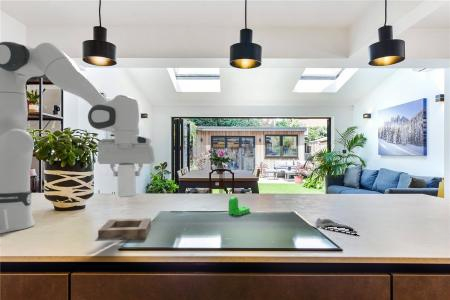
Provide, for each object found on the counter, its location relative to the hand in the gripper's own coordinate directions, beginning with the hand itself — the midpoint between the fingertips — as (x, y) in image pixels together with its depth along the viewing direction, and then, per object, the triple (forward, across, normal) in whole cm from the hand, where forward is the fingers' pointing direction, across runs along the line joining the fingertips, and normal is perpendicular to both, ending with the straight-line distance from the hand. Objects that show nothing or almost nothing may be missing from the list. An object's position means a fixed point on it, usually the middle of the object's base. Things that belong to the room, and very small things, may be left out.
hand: (126, 176), depth 110 cm
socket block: (+21, 0, 0) cm, 21 cm away
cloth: (+23, +83, +1) cm, 86 cm away
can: (+8, 0, 0) cm, 8 cm away
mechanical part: (+22, +50, +31) cm, 63 cm away
